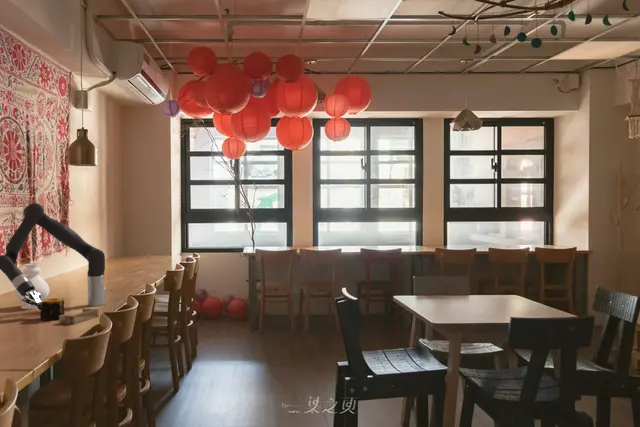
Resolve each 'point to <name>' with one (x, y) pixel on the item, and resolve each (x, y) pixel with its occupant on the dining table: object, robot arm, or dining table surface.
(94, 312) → the dock
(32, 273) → the decorative vase
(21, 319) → the dining table surface
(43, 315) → the candle
